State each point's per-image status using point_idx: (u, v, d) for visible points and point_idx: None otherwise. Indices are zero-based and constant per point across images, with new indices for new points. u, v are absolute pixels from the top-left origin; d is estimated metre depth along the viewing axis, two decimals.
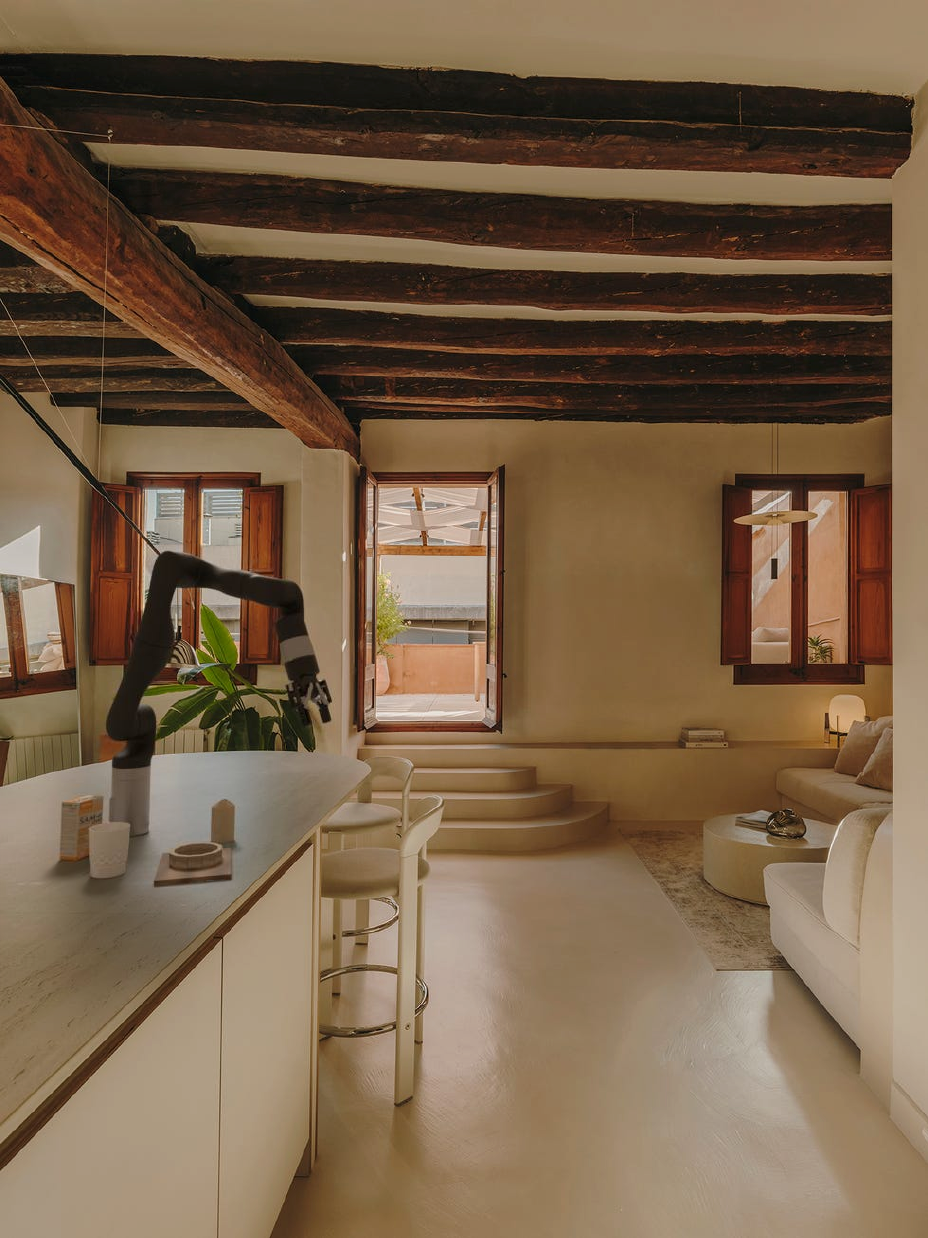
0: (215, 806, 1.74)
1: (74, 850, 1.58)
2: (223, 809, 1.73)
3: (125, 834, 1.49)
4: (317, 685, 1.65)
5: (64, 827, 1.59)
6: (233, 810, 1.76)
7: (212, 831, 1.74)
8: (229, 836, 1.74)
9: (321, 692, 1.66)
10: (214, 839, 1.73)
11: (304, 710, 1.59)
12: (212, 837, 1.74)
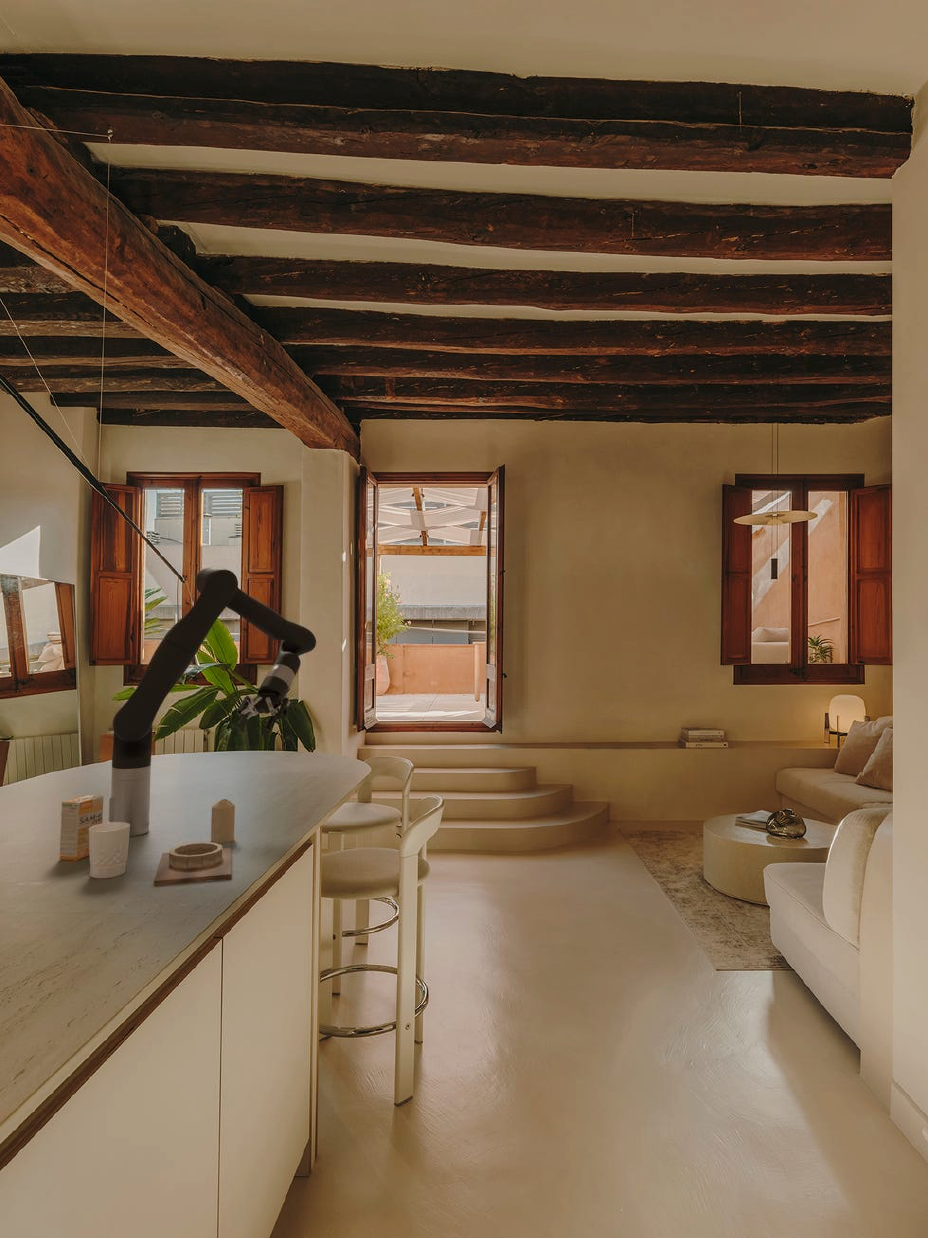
0: (215, 806, 1.74)
1: (74, 850, 1.58)
2: (223, 809, 1.73)
3: (125, 834, 1.49)
4: None
5: (64, 827, 1.59)
6: (233, 810, 1.76)
7: (212, 831, 1.74)
8: (229, 836, 1.74)
9: None
10: (214, 839, 1.73)
11: None
12: (212, 837, 1.74)
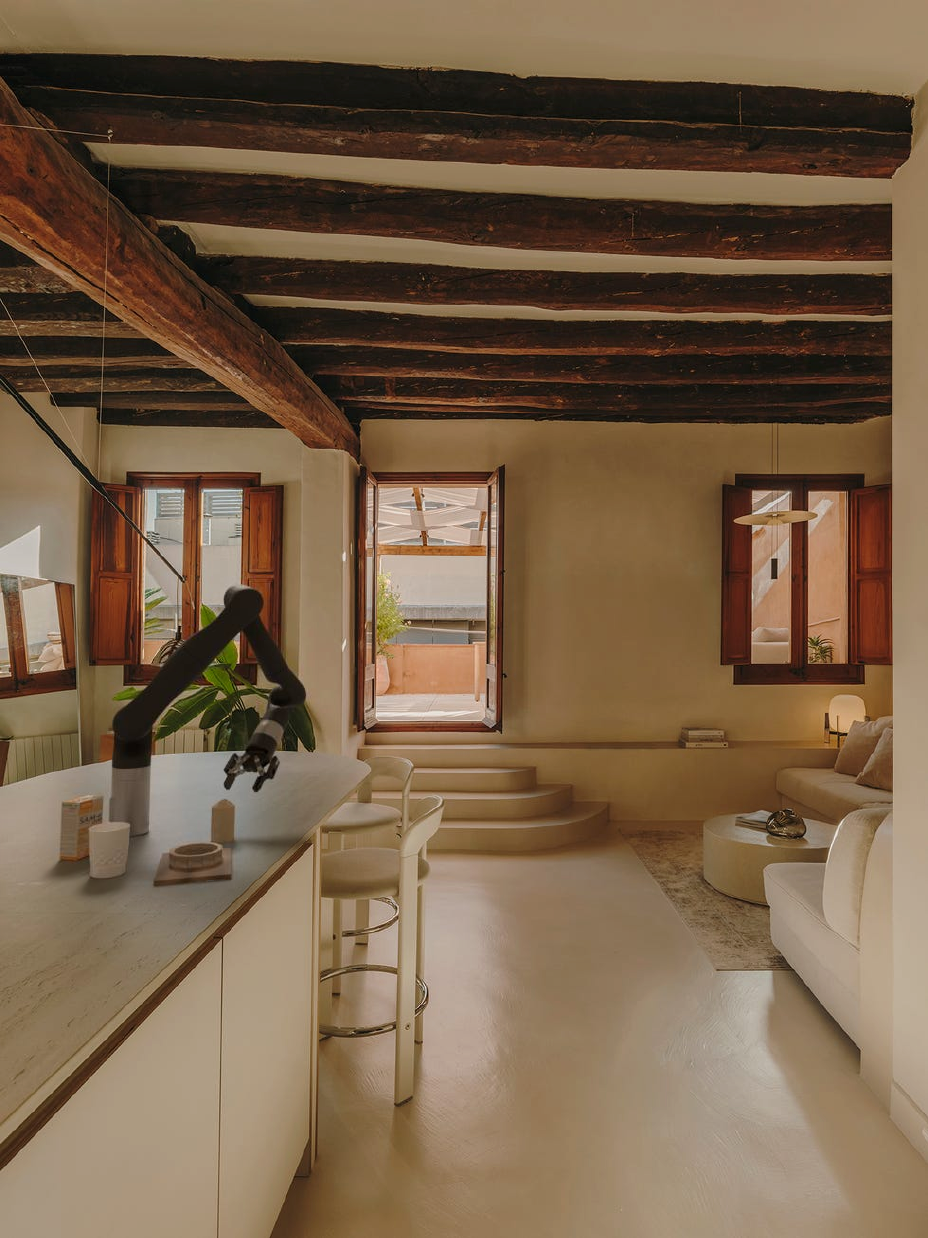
0: (215, 806, 1.74)
1: (74, 850, 1.58)
2: (223, 809, 1.73)
3: (125, 834, 1.49)
4: None
5: (64, 827, 1.59)
6: (233, 810, 1.76)
7: (212, 831, 1.74)
8: (229, 836, 1.74)
9: None
10: (214, 839, 1.73)
11: None
12: (212, 837, 1.74)
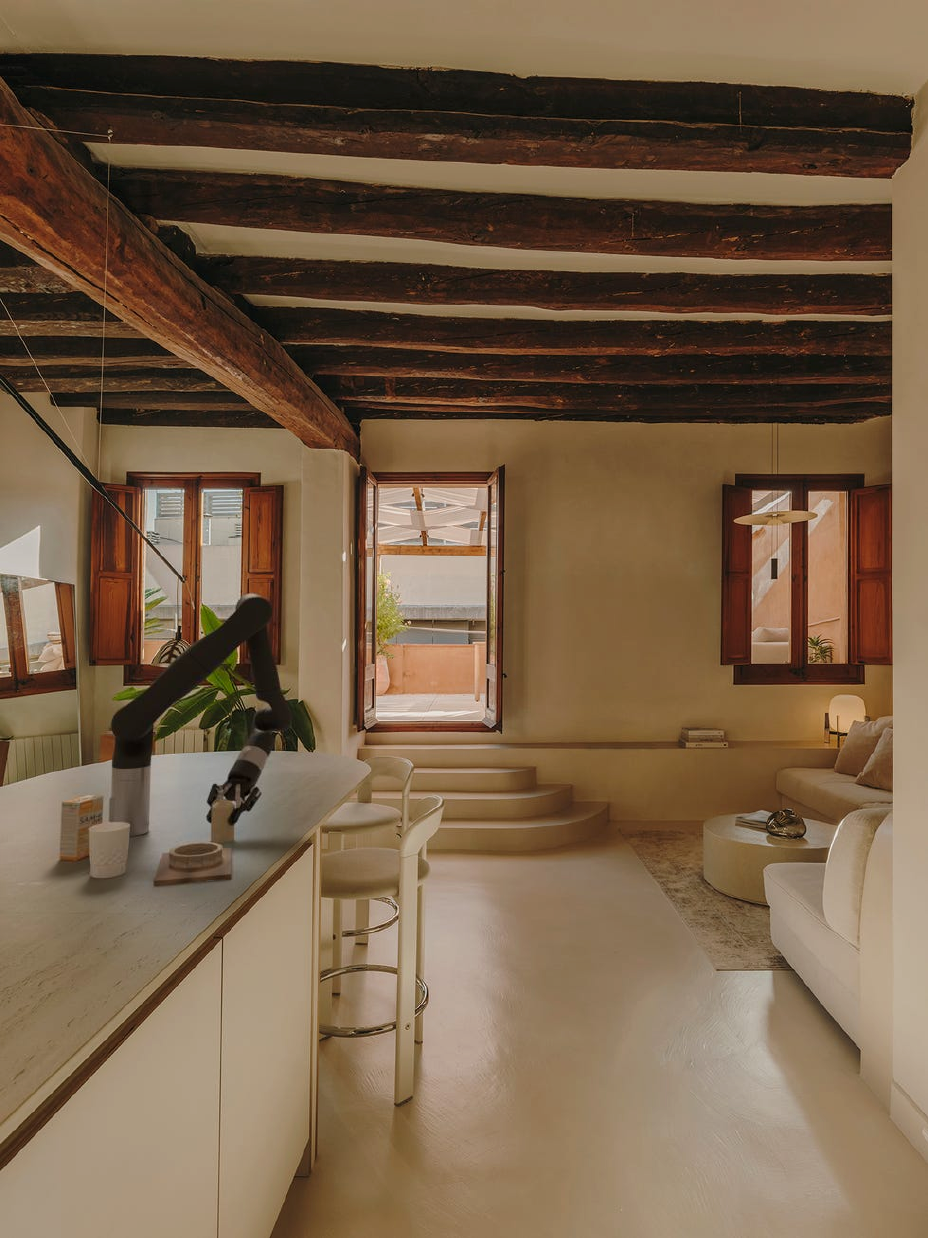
0: (215, 806, 1.74)
1: (74, 850, 1.58)
2: (223, 809, 1.73)
3: (125, 834, 1.49)
4: None
5: (64, 827, 1.59)
6: None
7: (212, 831, 1.74)
8: (229, 836, 1.74)
9: None
10: (214, 838, 1.73)
11: None
12: (212, 837, 1.74)
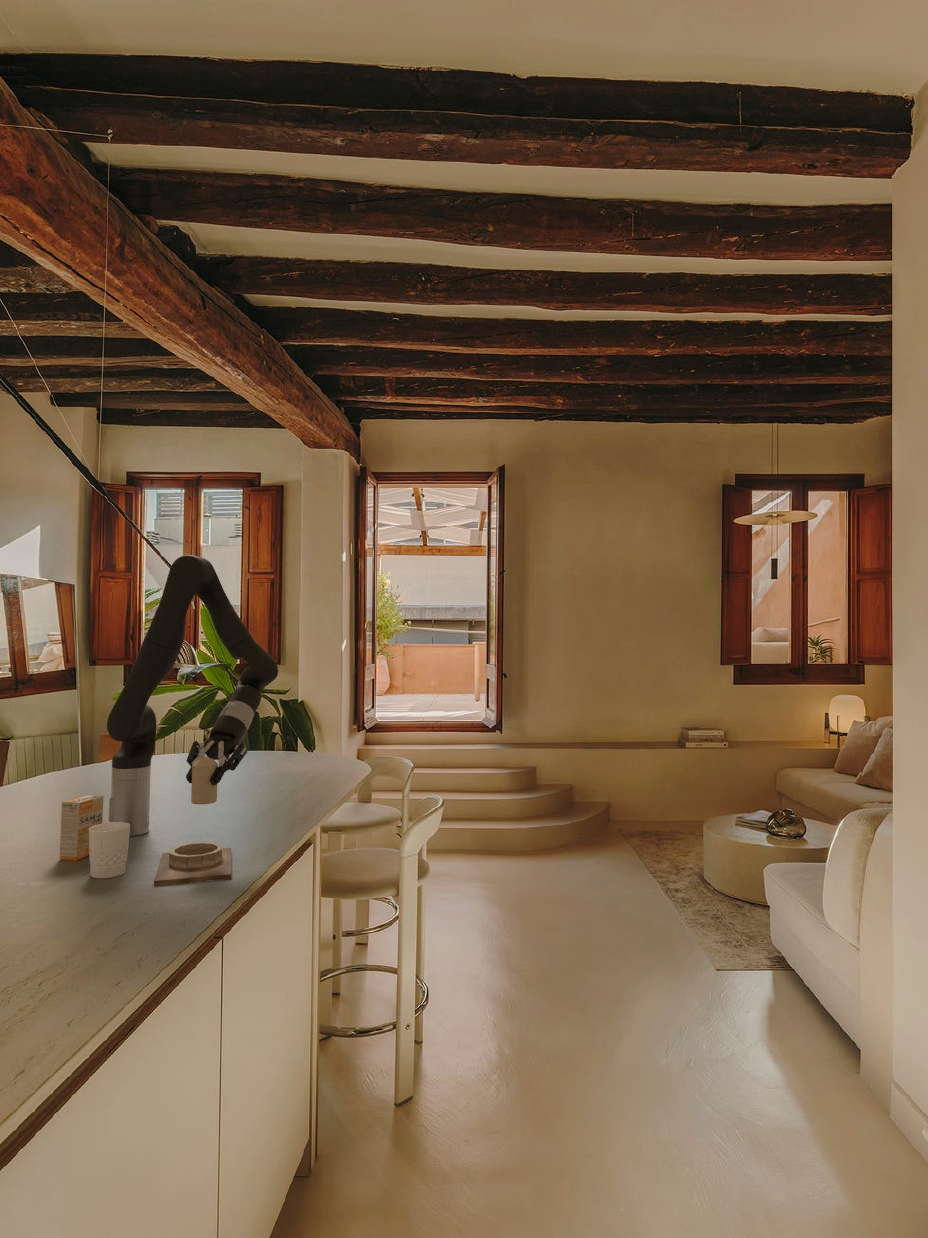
0: (196, 764, 1.58)
1: (74, 850, 1.58)
2: (204, 767, 1.57)
3: (125, 834, 1.49)
4: None
5: (64, 827, 1.59)
6: None
7: (192, 791, 1.58)
8: (211, 797, 1.58)
9: None
10: (195, 799, 1.57)
11: None
12: (192, 798, 1.57)
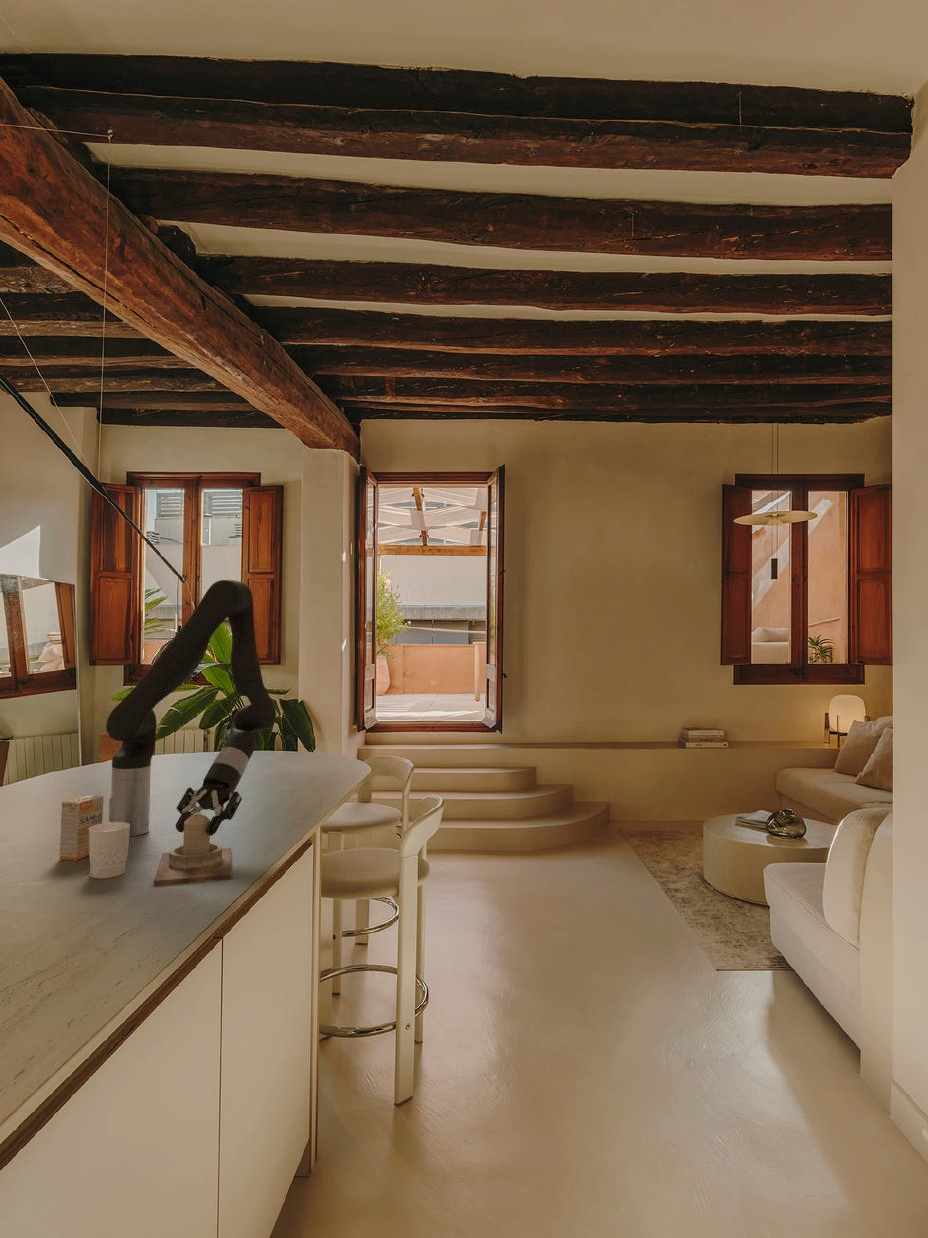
0: (188, 822, 1.55)
1: (74, 850, 1.58)
2: (197, 825, 1.54)
3: (125, 834, 1.49)
4: None
5: (64, 827, 1.59)
6: None
7: (184, 850, 1.54)
8: None
9: None
10: None
11: None
12: None
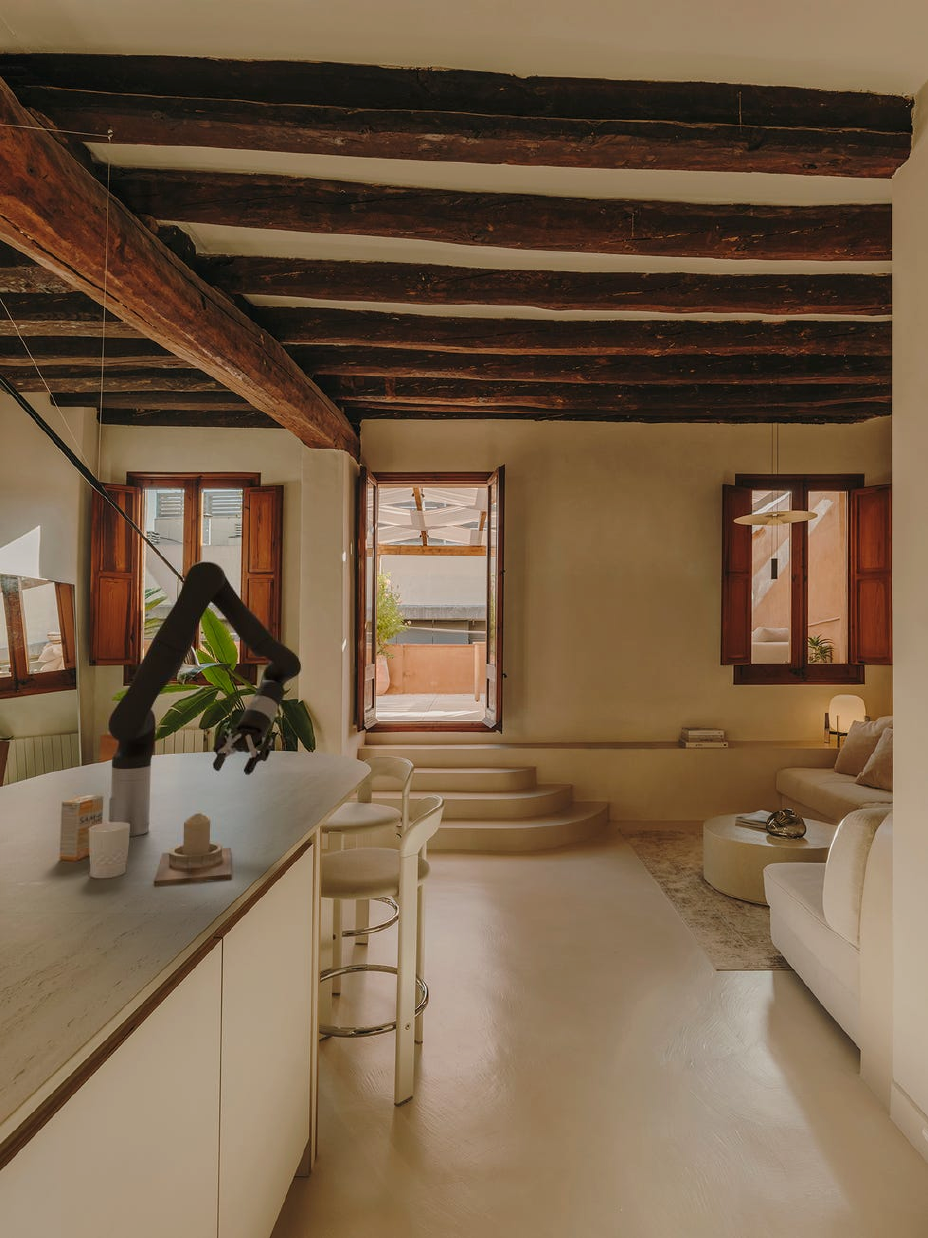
0: (188, 822, 1.55)
1: (74, 850, 1.58)
2: (197, 825, 1.54)
3: (125, 834, 1.49)
4: None
5: (64, 827, 1.59)
6: (208, 826, 1.56)
7: (184, 850, 1.54)
8: None
9: None
10: None
11: None
12: None
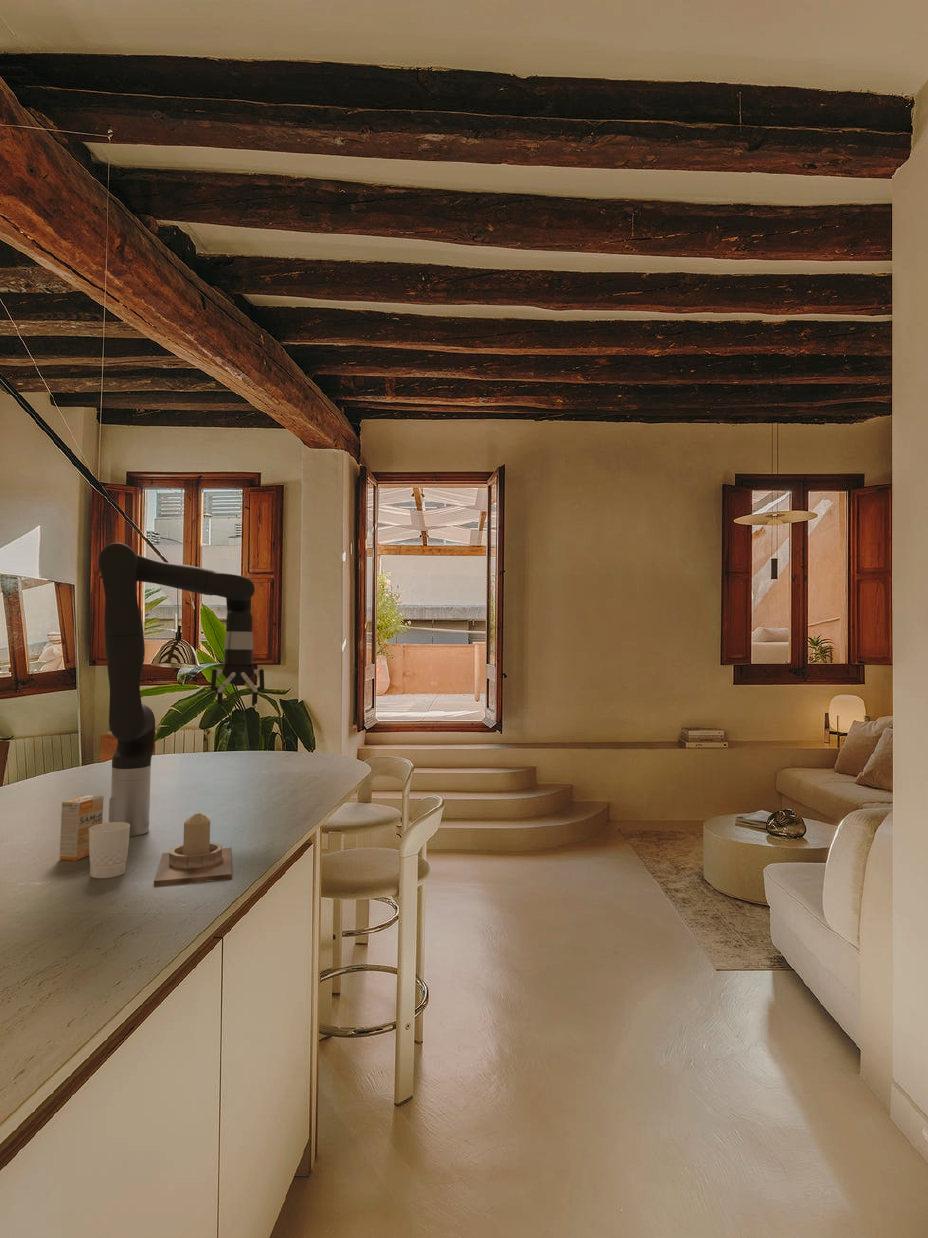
0: (188, 822, 1.55)
1: (74, 850, 1.58)
2: (197, 825, 1.54)
3: (125, 834, 1.49)
4: None
5: (64, 827, 1.59)
6: (208, 826, 1.56)
7: (184, 850, 1.54)
8: None
9: None
10: None
11: None
12: None
